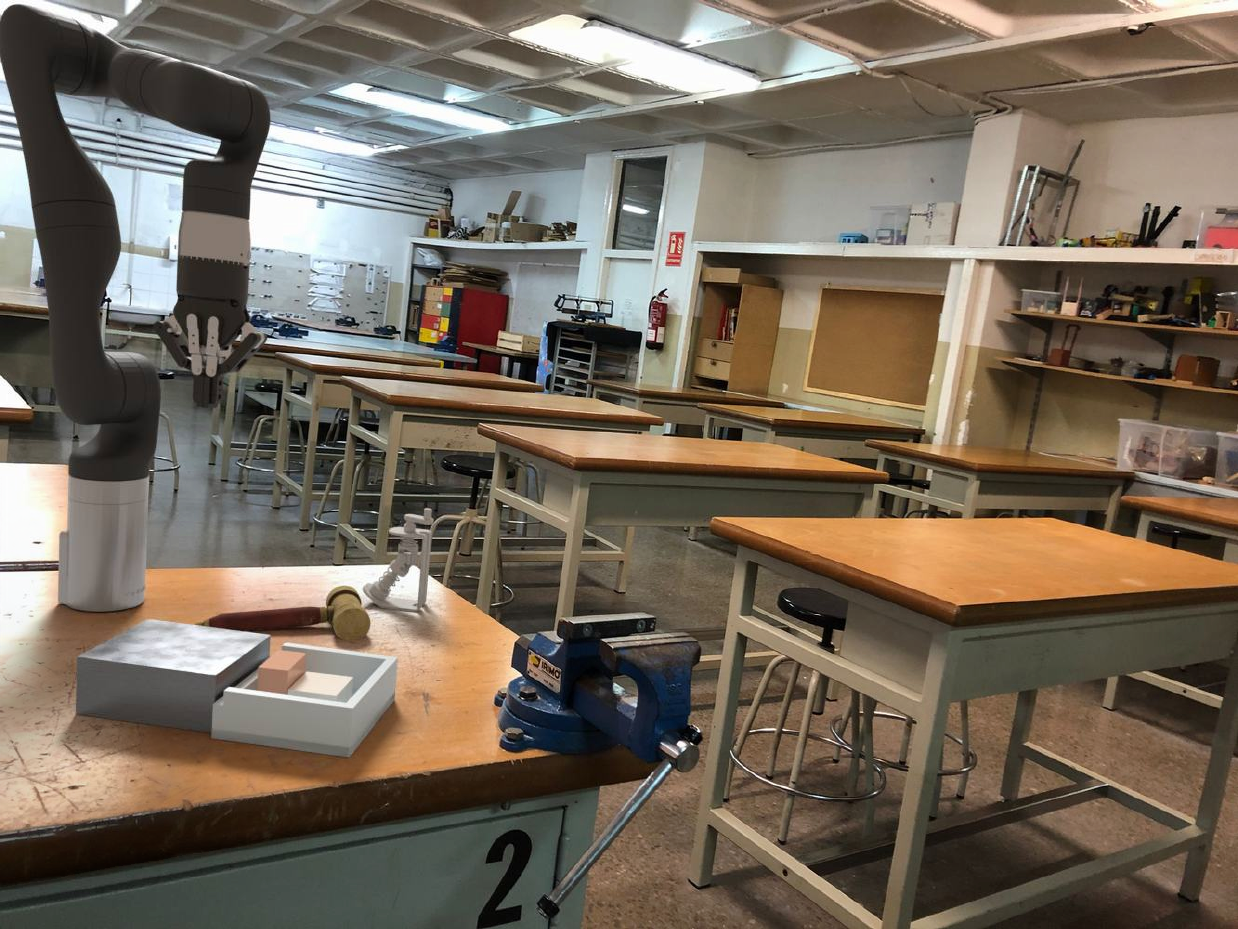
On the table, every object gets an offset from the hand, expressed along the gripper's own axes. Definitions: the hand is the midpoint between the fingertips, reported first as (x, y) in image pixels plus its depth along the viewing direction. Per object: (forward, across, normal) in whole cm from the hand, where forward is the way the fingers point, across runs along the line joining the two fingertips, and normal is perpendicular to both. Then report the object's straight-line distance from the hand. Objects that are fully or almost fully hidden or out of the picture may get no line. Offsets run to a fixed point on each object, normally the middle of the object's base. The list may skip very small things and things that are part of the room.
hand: (207, 407), depth 107 cm
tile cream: (+25, +21, -15) cm, 36 cm away
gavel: (+30, +7, +9) cm, 32 cm away
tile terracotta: (+26, +16, -15) cm, 34 cm away
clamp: (+29, +17, +24) cm, 41 cm away
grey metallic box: (+29, +6, -15) cm, 33 cm away
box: (+29, +20, -15) cm, 38 cm away
